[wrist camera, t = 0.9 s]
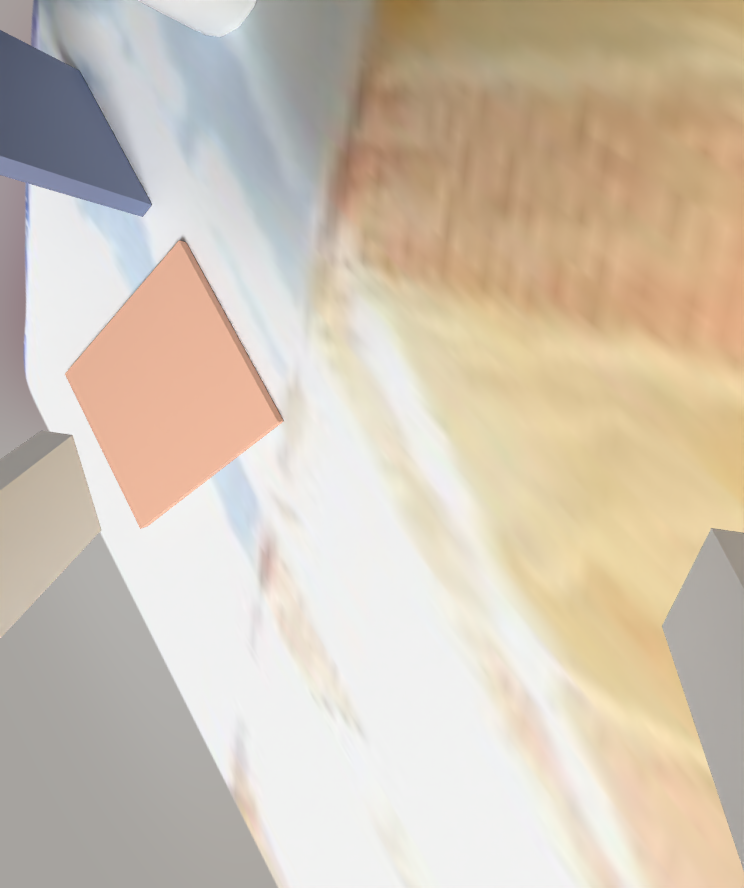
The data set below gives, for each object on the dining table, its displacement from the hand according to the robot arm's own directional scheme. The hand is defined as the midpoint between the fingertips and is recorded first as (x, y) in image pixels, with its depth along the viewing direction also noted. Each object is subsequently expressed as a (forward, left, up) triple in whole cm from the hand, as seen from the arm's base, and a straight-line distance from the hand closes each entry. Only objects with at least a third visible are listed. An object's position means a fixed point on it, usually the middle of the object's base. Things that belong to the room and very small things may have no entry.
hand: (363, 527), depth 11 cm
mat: (+21, -15, -18) cm, 31 cm away
